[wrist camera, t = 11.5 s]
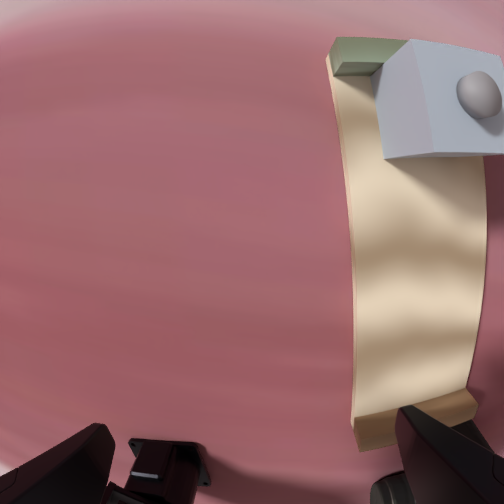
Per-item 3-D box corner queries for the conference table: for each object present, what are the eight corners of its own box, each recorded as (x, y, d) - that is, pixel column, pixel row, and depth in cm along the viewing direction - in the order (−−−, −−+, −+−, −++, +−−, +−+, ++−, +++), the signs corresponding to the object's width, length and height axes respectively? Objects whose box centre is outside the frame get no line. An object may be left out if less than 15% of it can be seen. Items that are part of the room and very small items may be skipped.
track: (456, 394, 21) (474, 417, 18) (350, 422, 22) (359, 452, 18) (458, 67, 15) (485, 54, 12) (325, 59, 16) (336, 36, 13)
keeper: (458, 157, 16) (533, 154, 9) (383, 159, 16) (446, 150, 10) (445, 81, 15) (511, 51, 8) (369, 77, 15) (420, 30, 9)
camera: (381, 433, 22) (413, 522, 12) (478, 405, 21) (526, 471, 12) (360, 507, 25) (374, 574, 15) (442, 485, 24) (466, 542, 15)
